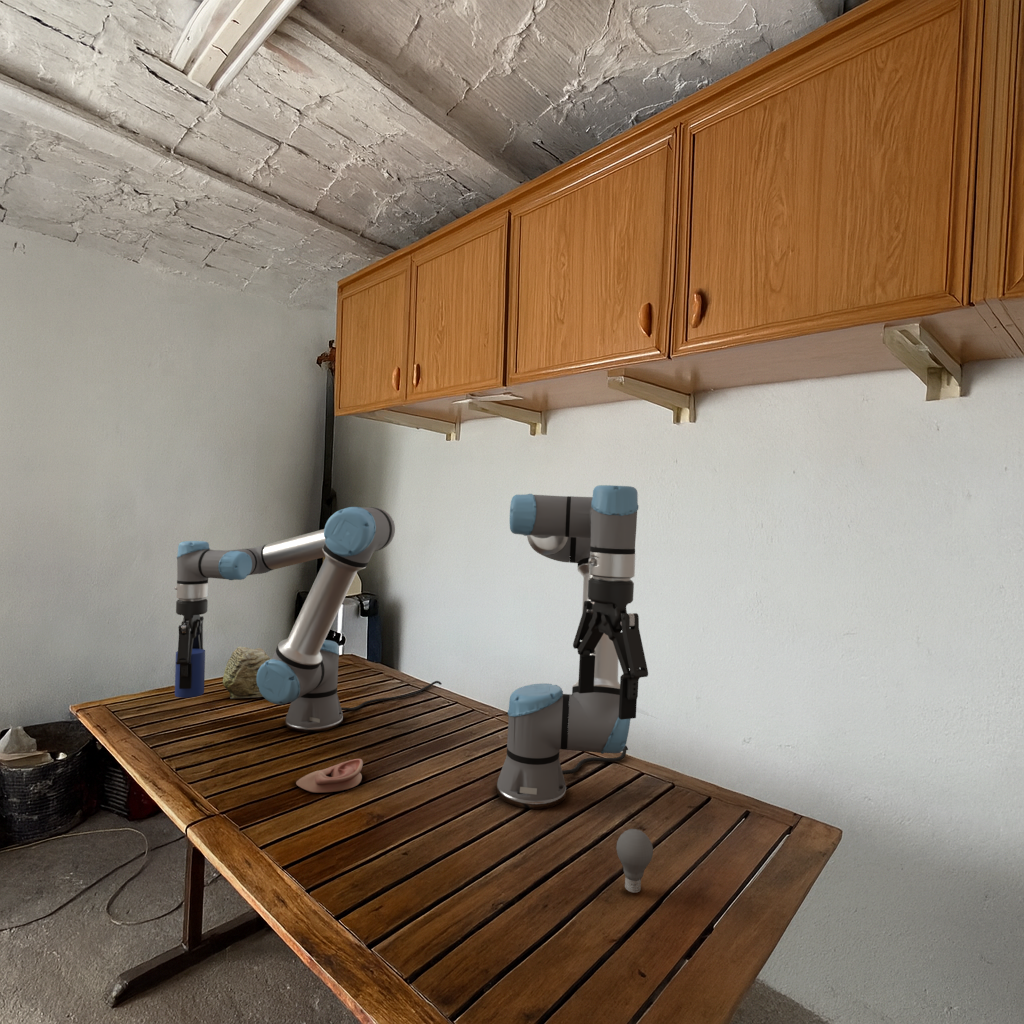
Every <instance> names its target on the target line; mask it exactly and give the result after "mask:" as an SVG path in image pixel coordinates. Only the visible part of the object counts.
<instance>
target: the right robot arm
mask: <svg viewBox="0 0 1024 1024" xmlns="http://www.w3.org/2000/svg"><path fill="white" fill-rule="evenodd" d="M638 499H639V494H638V490H637V488H636V487H635V486H631V485H630V486H629V485H613V484H612V485H610V484H609V485H608V484H601V485H600V484H599V485H596V486H594V488H593V490H592V496H574V495H573V496H571V495H570V496H569V495H567V496H566V495H547V494H533V493H527V494H525V493H524V494H515V495H513V496H512V497H511V500H510V505H509V530H510V532H511V533H512V534H513V535H519V536H520V535H521V536H525V537H526V538H527V541H528V544H529V545H530V547H531V548H532V550H533V551H534V552H536V553H537V554H539V555H541V556H543V557H545V558H547V559H550V560H553V561H557V562H560V563H570V564H577V572H578V573H579V574H580V575H581V576H582V578H583V581H582V582H583V584H582V605H581V606H582V609H581V610H582V611H581V617H580V620H579V623H578V627H577V630H576V633H575V637H574V639H573V643H572V647H573V649H574V650H575V649H577V654H578V655H579V662H578V663H579V664H578V665H579V666H578V680H577V681H576V682H575V683H574V684H573V685H572V686H571V687H572V688H571V694H570V693H569V694H568V693H564V690H563V688H562V687H561V685H558V684H552V683H532V684H528V685H524V686H521V687H519V688H517V689H515V690H514V691H513V692H511V694H510V696H509V701H508V702H509V703H508V709H507V716H508V718H507V739H506V740H507V741H506V757H505V760H504V761H503V765H502V768H501V770H500V773H499V775H498V778H497V782H496V794H497V796H498V797H500V799H501V800H502V801H504V802H505V803H507V804H510V805H512V806H515V807H518V808H524V809H535V810H536V809H547V808H551V807H555V806H557V805H559V804H561V803H562V802H564V800H565V799H566V796H567V783H566V779H565V777H564V776H565V775H572V774H575V773H577V772H578V771H579V770H580V769H581V768H582V766H583V765H584V764H586V763H591V762H593V763H594V762H596V763H597V762H599V763H617V762H621V761H622V760H624V759H625V757H626V755H627V751H628V750H629V747H628V746H627V743H628V737H629V732H630V726H631V719H637V705H638V704H637V703H638V702H637V701H638V697H639V680H640V678H646V677H648V676H649V669H648V664H647V661H646V655H645V650H644V647H643V646H644V645H643V642H642V635H641V632H640V617H639V614H638V613H637V612H634V613H633V612H632V613H628V611H627V606H628V605H629V604H631V603H633V601H634V593H635V592H634V589H635V582H634V581H633V580H632V579H633V578H634V577H635V575H636V574H635V573H636V538H637V537H636V536H637V524H638V519H637V518H638V511H639V501H638ZM619 665H620V668H621V671H622V674H621V675H620V676H619ZM619 678H620V681H619ZM560 750H562V751H563V750H566V751H574V752H584V753H585V752H587V753H598V754H601V755H603V754H620V753H621V755H620V756H617V757H594V756H593V757H586V758H583V759H581V760H580V761H579V762H577V764H576V765H575V767H573V768H571V769H562V766H561V762H560Z"/></svg>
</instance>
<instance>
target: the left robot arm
mask: <svg viewBox="0 0 1024 1024" xmlns="http://www.w3.org/2000/svg"><path fill="white" fill-rule="evenodd" d="M395 534H396V525H395V521H394V519H393V517H392V516H391V515H390V514H389V513H388V512H387V510H384V509H382V508H379V507H372V506H371V507H362V506H361V507H360V506H349V507H345V508H342V509H339V510H337V511H335V512H334V513H333V514H332V515H330V517H329V518H328V519H327V520H326V523H325V525H324V528H323V529H319V530H316V531H312V532H308V533H304V534H300V535H296V536H291V537H289V538H285V539H281V540H278V541H277V540H276V541H274V542H270V543H266V544H262V545H259V546H254V547H248V548H238V549H229V550H228V549H227V550H226V549H225V550H221V549H211V548H210V543H209V542H208V541H204V540H185V541H181V542H179V544H178V546H177V554H176V555H177V556H176V571H177V572H176V573H177V574H176V586H174V590H175V591H176V598H177V600H176V602H175V613H176V614H177V615H178V616H183V620H182V621H181V625H180V624H179V625H178V641H177V651H178V656H177V662H176V661H175V665H176V664H180V682H179V689H191V681H192V663H191V655H192V649H204V616H203V615H204V614H206V613H207V612H208V606H209V605H208V602H209V601H208V599H207V597H209V579H219V580H228V581H242V580H245V579H246V578H247V577H248V576H252V575H253V576H254V575H261V574H267V573H269V572H272V571H274V570H278V569H282V568H286V567H290V566H294V565H298V564H302V563H306V562H310V561H314V560H318V559H322V558H324V560H323V562H322V564H321V566H320V568H319V571H318V572H317V575H316V577H315V579H314V582H313V584H312V586H311V587H310V590H309V592H308V594H307V596H306V598H305V600H304V603H303V604H302V607H301V609H300V611H299V614H298V616H297V618H296V619H295V622H294V624H293V626H292V628H291V631H290V632H289V635H288V637H287V638H285V639H282V640H280V641H279V642H278V644H277V647H276V649H275V650H274V653H273V655H272V657H271V660H268V661H266V662H265V663H264V664H262V665H261V666H260V668H259V670H258V672H257V677H256V681H257V686H258V687H259V691H260V693H261V694H262V696H263V697H262V698H264V699H265V700H266V701H267V702H269V703H271V704H274V705H281V706H282V705H286V704H289V708H288V711H287V713H286V715H285V726H286V728H287V729H289V730H291V731H294V732H295V731H296V732H301V733H316V732H325V731H329V730H332V729H335V728H337V727H339V726H340V725H342V723H343V722H344V714H343V711H349V712H351V711H356V710H359V709H360V708H362V707H364V706H365V705H368V704H371V703H375V702H384V701H385V702H386V701H392V700H398V699H403V698H407V697H411V696H412V697H413V696H416V695H419V694H420V693H422V692H423V691H425V690H426V689H429V688H431V687H432V686H433V685H435V684H438V685H442V682H441V681H439V680H435V681H433V682H431V683H430V684H428V685H426V686H423V687H422V688H420V689H419V690H417V691H414V692H410V693H406V694H401V695H395V696H391V697H390V696H389V697H381V698H375V699H370V700H366V701H364V702H362V703H360V704H359V705H357V706H354V707H345V706H344V707H343V706H341V702H340V699H339V695H338V682H339V662H340V661H339V660H340V652H339V651H340V650H339V648H340V646H339V643H337V641H335V640H330V639H326V638H327V637H328V634H329V632H330V630H331V628H332V626H333V624H334V621H335V619H336V617H337V616H338V613H339V611H340V609H341V607H342V605H343V603H344V601H345V598H346V596H347V594H348V592H349V590H350V589H351V586H352V584H353V582H354V579H355V578H356V575H357V573H358V572H359V571H361V570H364V569H366V568H367V566H368V564H369V562H370V560H371V558H372V556H373V554H374V552H379V551H381V550H383V549H384V548H386V547H388V546H389V545H390V544H391V543H392V541H393V539H394V537H395Z"/></svg>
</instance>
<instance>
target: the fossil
mask: <svg viewBox="0 0 1024 1024" xmlns="http://www.w3.org/2000/svg"><path fill="white" fill-rule="evenodd" d="M271 659H272V657H270V656H269V655H268V654H267V653H266V652H265V650H264V649H263V648H260V647H258V648H251V647H247V646H246V647H245V646H238V647H237V648H236V649H235V650H233V651H232V653H231V656H230V657H229V659H228V660H227V663H226V666H225V668H224V671H223V675H222V676H223V677H222V685H223V687H224V688H225V690H226V691H228V693H229V698H230V699H250V698H264V697H263V696H262V694H261V693H260V691H259V687H258V686H257V681H256V677H257V672H258V670H259V668H260V666H261V665H262V664H264V663H265V662H266V661H268V660H271Z"/></svg>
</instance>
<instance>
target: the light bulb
mask: <svg viewBox="0 0 1024 1024" xmlns="http://www.w3.org/2000/svg"><path fill="white" fill-rule="evenodd" d="M615 849H616V854H617V857H618V859H619V861H620V863H621V865H622V867H623V873H624V874H623V875H624V876H625V878H624V888H625V890H627V891H628V892H630V893H634V894H635V893H639V892H640V891H641V889H642V887H641V886H642V879H643V877H644V875H645V871H646V868H647V867H648V866H649V864H650V863H651V861H652V859H653V855H654V847H653V843H652V841H651V838H649V836H648V835H647V834H646V833H645V832H643V831H642V830H641V829H636V828H629V829H627V830H625V831H623V832H622V833H621V834H620V835H619V837H618V839H617V841H616V847H615Z"/></svg>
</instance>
